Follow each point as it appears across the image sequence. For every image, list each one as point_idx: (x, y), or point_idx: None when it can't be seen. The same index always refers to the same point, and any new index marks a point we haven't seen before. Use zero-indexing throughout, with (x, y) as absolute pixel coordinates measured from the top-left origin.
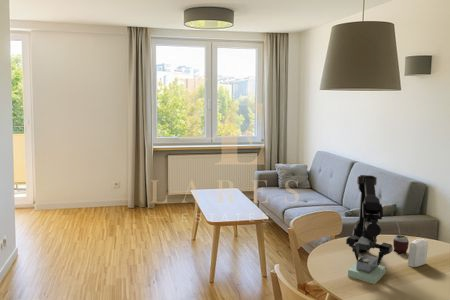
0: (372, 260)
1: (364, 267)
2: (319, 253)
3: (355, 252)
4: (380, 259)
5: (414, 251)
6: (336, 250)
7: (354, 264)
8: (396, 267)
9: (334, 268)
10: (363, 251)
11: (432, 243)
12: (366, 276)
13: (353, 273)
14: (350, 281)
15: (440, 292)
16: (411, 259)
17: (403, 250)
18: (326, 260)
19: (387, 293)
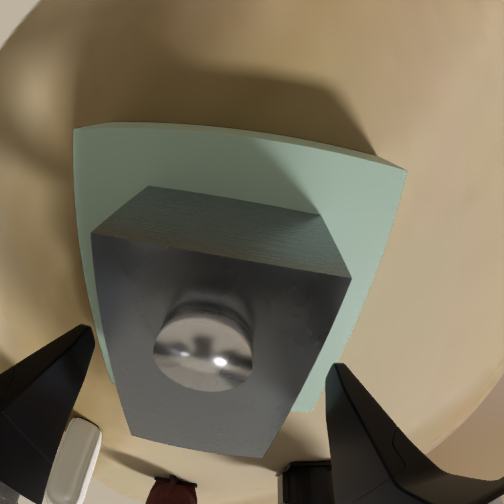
0: (142, 384)
1: (206, 218)
2: (488, 380)
3: (390, 440)
4: (12, 368)
5: (57, 473)
6: (410, 436)
7: (348, 332)
8: (120, 410)
9: (467, 259)
10: (297, 469)
11: (137, 497)
12: (177, 129)
13: (337, 149)
14: (332, 51)
15: None
16: (76, 445)
17: (159, 486)
18: (484, 338)
19: (25, 41)
